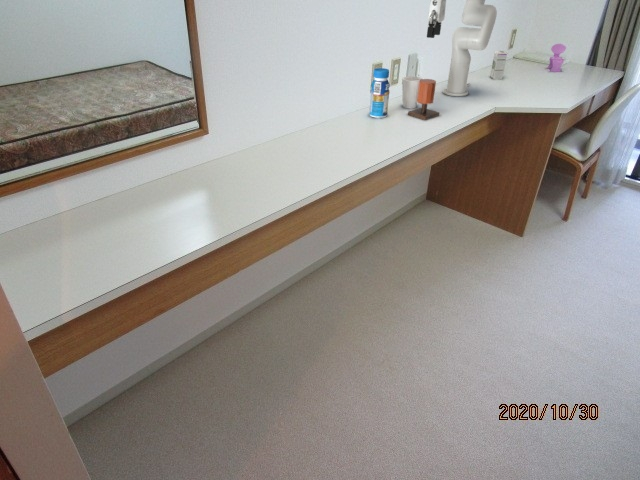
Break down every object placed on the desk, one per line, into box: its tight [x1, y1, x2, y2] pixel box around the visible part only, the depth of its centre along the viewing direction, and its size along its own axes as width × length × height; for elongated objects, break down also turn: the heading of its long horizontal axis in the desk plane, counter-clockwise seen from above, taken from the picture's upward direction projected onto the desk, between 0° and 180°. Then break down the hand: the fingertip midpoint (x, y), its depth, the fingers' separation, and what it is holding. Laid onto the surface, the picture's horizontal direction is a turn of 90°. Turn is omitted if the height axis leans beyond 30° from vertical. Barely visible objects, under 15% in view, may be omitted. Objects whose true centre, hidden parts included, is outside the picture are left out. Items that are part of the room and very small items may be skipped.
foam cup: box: [401, 75, 423, 109], centre depth 213 cm, size 10×9×13 cm
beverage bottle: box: [369, 67, 391, 119], centre depth 200 cm, size 8×8×20 cm
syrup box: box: [489, 50, 508, 80], centre depth 260 cm, size 6×6×14 cm
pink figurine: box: [546, 43, 567, 73], centre depth 276 cm, size 8×9×15 cm
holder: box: [407, 103, 440, 121], centre depth 201 cm, size 10×10×15 cm
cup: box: [417, 78, 437, 105], centre depth 200 cm, size 7×7×9 cm
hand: (433, 36), depth 195 cm, fingers open, 9 cm apart
